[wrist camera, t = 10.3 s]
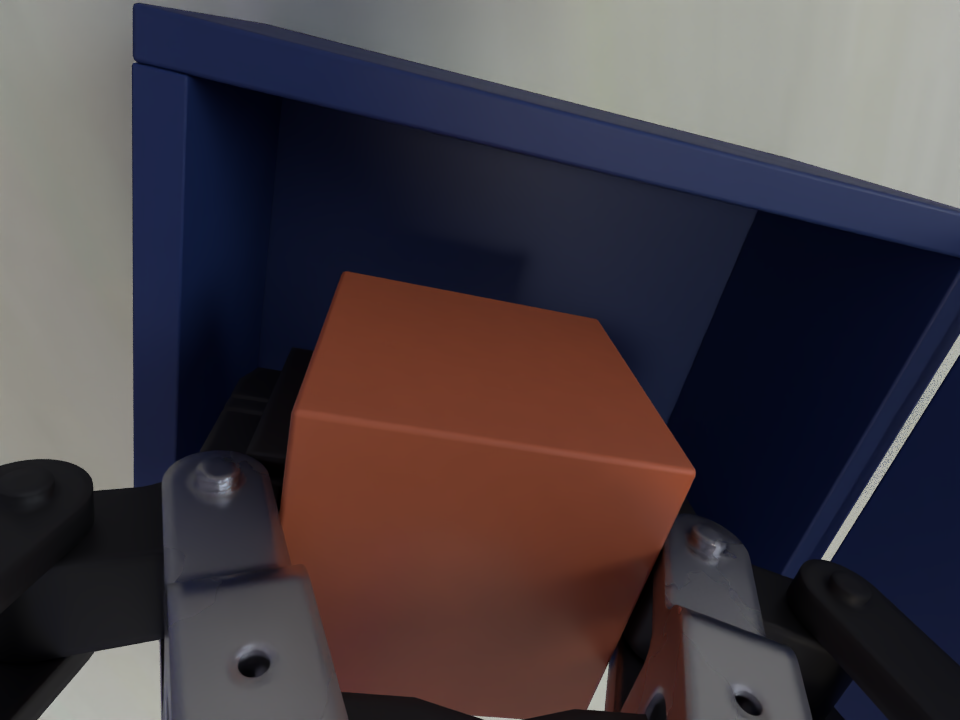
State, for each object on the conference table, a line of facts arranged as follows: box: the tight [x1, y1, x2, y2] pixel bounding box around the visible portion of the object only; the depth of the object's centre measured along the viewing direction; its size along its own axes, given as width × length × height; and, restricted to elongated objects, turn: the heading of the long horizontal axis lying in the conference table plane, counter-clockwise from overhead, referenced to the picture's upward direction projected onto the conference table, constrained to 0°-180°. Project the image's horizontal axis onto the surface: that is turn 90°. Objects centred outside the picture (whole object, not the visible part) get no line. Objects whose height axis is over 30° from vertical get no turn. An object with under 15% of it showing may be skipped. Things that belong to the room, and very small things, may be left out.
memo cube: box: [279, 271, 696, 719], centre depth 11 cm, size 5×5×5 cm
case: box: [132, 3, 960, 579], centre depth 16 cm, size 16×12×8 cm
